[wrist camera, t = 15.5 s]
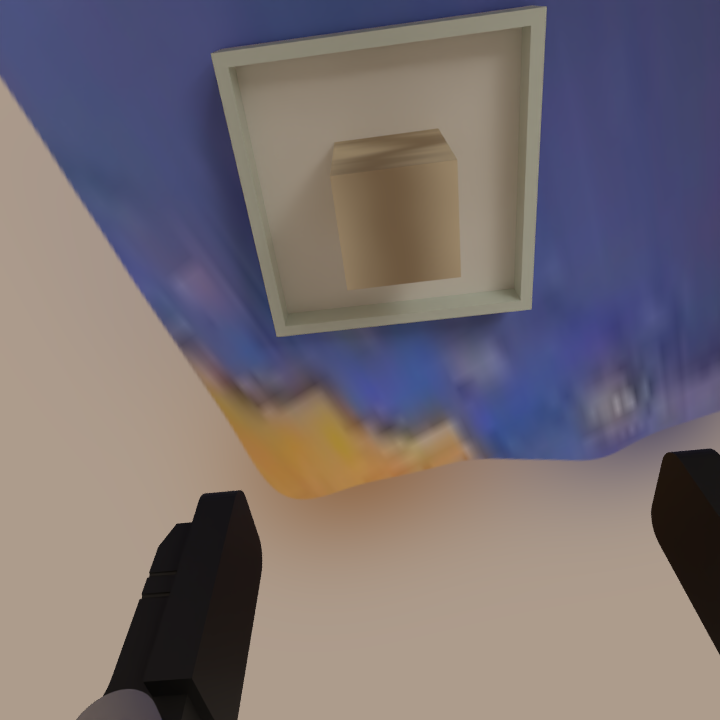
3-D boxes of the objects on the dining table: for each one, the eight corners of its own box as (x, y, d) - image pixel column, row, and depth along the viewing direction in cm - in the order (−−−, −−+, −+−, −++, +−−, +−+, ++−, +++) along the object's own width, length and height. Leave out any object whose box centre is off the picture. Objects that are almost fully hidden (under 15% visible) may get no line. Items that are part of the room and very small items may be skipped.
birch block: (438, 128, 27) (457, 159, 22) (442, 228, 30) (460, 277, 25) (334, 142, 27) (329, 176, 22) (348, 240, 30) (347, 290, 25)
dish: (531, 5, 25) (546, 6, 23) (521, 290, 33) (531, 309, 31) (221, 48, 26) (210, 53, 24) (281, 317, 33) (276, 336, 31)
